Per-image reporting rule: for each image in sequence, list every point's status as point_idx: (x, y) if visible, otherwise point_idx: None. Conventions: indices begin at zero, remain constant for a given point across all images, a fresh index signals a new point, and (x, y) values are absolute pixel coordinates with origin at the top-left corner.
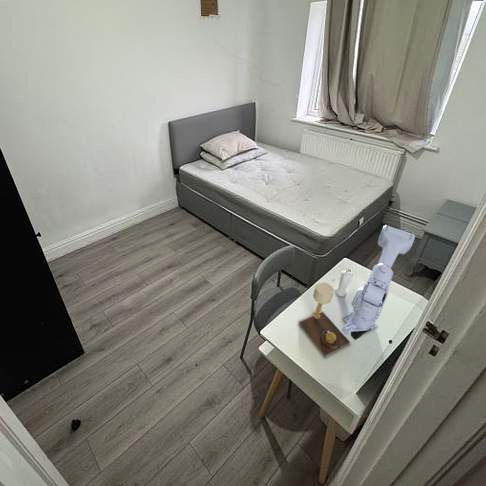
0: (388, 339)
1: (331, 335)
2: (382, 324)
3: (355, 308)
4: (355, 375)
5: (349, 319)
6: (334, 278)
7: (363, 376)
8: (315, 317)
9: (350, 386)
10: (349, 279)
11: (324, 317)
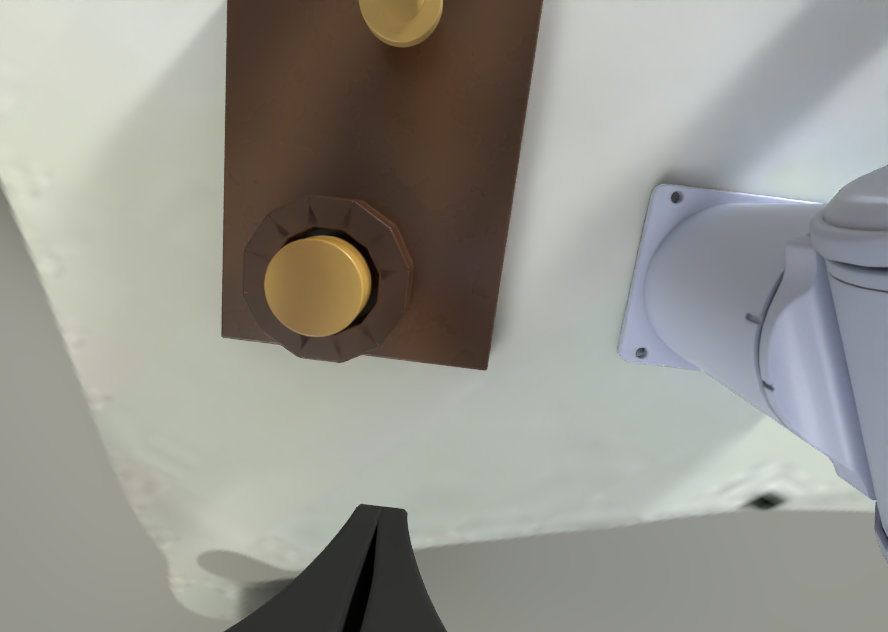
0: (772, 488)
1: (321, 285)
2: None
3: (815, 271)
4: (331, 515)
5: (690, 220)
6: None
7: None
8: (363, 15)
9: (248, 537)
10: None
11: (500, 66)
